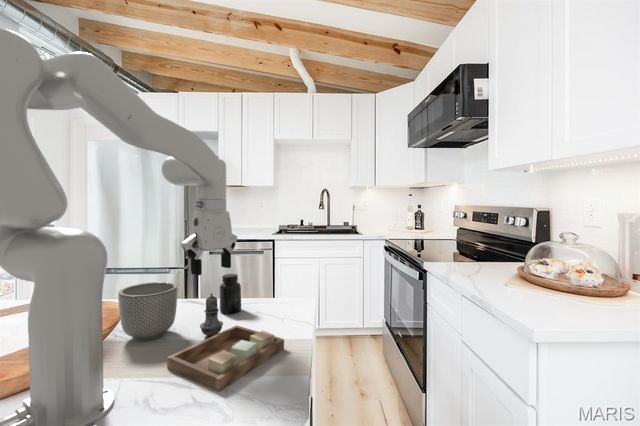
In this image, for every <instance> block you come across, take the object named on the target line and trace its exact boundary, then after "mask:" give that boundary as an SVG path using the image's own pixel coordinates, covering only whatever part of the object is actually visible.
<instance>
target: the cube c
mask: <svg viewBox="0 0 640 426" xmlns="http://www.w3.org/2000/svg"><path fill="white" fill-rule="evenodd" d="M274 336H275V334H273V333H271V332H268V331H265V330H261V331H258V333H256V334H253V335H251V336H250V342H254V343H257V352H259V351H260V350H262V349H264V348H265V347H267V346H269V345H270V344H272V343H274Z"/></svg>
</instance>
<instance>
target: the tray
mask: <svg viewBox="0 0 640 426" xmlns="http://www.w3.org/2000/svg"><path fill="white" fill-rule="evenodd" d="M258 332H259V331H256V330H254V329H250V328H248V327H244V326H239V325H238V324H237V325H234V326H232V327H230V328H228V329H226V330H223V331H220V332H219V333H218V334H216V335H214V336H212V337H208V338H206V339H203V340H202V341H200V342H197V343H195V344H193V345H189V346H188V347H186V348H184V349H181V350H180V351H177V352H175V353H173V354H170V355H168V356H167V357H166V368H167V369H168V370H170V371H173V372H174V373H176V374H178V375H181V376H184V378H188V379H189V380H192V381H194V382H196V383H199V384H201V385H203V386H205V387H207V388H210V389H212V390H214V391H216V392H219V393H220V392H221V391H223V390H225V389H226V388H228V387H230V386H231V385H232V384H233V383H235V382H236V381H238V380H240V379H241V378H243V377H244V376H246V375H247V374H249V373H250V372H251V371H253V370H255V369H256V368H257V367H259V366H261V365H262V364H264V363H266V362H267V361H269V360H270V359H271V358H273V357H274V356H276V355H278V354H279V353H280V352H282V351H283V350H285V339H284V338H282V337H279V336H275V335H274V343H272V344H270V345H269V346H267V347H265V348H264V349H262V350H260V351H259V352H257V353H256V354H254V355H252V356H251V357H249V358H247V359H246V360H244V361H242V362H241V363H239V364H237V365H236V366H234V367H232V368H231V369H229V370H227V371H226V372H224V373H222V374H221V375H218V374H216V373H213V372H211V371H208V358H210V357H212V356H214V355H216V354H218V353H220V352H222V351H226V352H229V353H231V347H232V346H234V345H235V344H237V343H238V342H240V341H241V340H243V341H249V342H250V336H251V335H253V334H256V333H258Z"/></svg>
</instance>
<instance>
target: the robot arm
mask: <svg viewBox="0 0 640 426" xmlns="http://www.w3.org/2000/svg"><path fill="white" fill-rule="evenodd" d="M32 43H33V42H30V40H29V39H27V38H25V37H24V36H23V35H21V34H19V33H18V32H15V31H12V30H10V29H7V28H2V27H1V28H0V268H1V269H3V271H5V272H6V273H7V274H8V275H10V276H12V277H13V278H16V279H19V280H22V281H26V282H32V283H34V287H33V292H32V295H31V298H30V301H29V302H30V303H29V306H28V307H29V308H28V312H27V313H28V316H27V333H28V361H29V362H28V363H29V365H28V366H29V397H28V398H25V399H23V400H22V407H20V408H17V409H15V411H14V413H12V414H11V413H10V414H8V415H6V416H3V417H1V418H0V426H94V425H96V422H98V421H99V420H101V419H102V418H103V417H105V415H107V413H109V412H110V411H111V409H112V407H113V406H114V404H115V395H114V392H113V391H112V390H111V389H109V388H105V386H104V337H103V335H104V334H103V333H104V331H103V329H104V328H103V292H104V291H103V290H104V283H105V277H106V272H107V268H108V252H107V251H108V250H107V247H106V245H105V244H104V242H103V241H102V240H101V239H100V238H99V237H97V236H96V235H95V234H93V233H92V232H89V231H87V230H83V229H79V228H72V227H71V228H70V227H56V226H55V225H54V223H56V222H58V221H60V220H61V219H62V218H63V217H64V215H65V214H66V212H67V209H68V197H67V195H66V192H65V190H64V188H63V186H62V185H61V183H60V181H59V179H58V178H57V176H56V175H55V173H54V171H53V170H52V168H51V165H50V164H49V162H48V161H47V159H46V157H45V156H44V154H43V152H42V151H41V149H40V147H39V145H38V143H37V142H36V140H35V138H34V136H33V133H32V131H31V128H30V125H29V121H28V110H39V111H69V110H74V109H82V110H83V111H84V112H86V113H87V114H88V115H90V116H91V117H92V118H93V119H94V120H96V121H98V123H100V124H101V125H102V126H103V127H105V128H106V130H107V129H108V130H109V131H110V132H111V133H112V134H114V135H115V136H116V137H117V138H118V139H120V140H121V141H123V143H125V144H127V145H129V146H132V147H135V148H139V149H142V150H146V151H150V152H155V153H158V154H162V155H164V156H168V157H167V158H166V159H165V160H164V161H163V163H162V166H161V173H162V176H163V178H164V179H165V180H166V181H167V182H169V183H170V184H172V185H174V186H180V187H181V186H182V187H183V186H184V187H187V186H189V187H191V186H195V198H196V200H195V201H193V203H192V206H193V207H194V208H195V211H194V212H193V216H192V224H191V235H190V236H189V237H188V238H186V239H185V240H184V241H183V240H182V242H181V243H180V246H181V248H182V250H183V251H184V254H185V255H186V256H187V257H188V259H190V273H191V275H194V276H195V275H196V276H201V275H202V273H203V272H202V271H203V270H202V267H203V265H202V264H203V263H202V259H201V256H202V255H203V253H204V252H211V251H216V250H217V251H218V250H221V251H222V252H221V254H220V264H221V266H220V267H221V268H226V269H231V267H232V253H233V252H234V248H235V247H236V243H237V241H238V236H237V235H236V234H234V233H233V230H232V221H231V216H230V212H229V211H228V210H227V165H226V164H227V163H226V162H225V161H224V160H223V159H220V158H219V157H218V155H217V154H216V153H215V151H213V149H212V148H211V147H210V146H209V145H208V144H207V143H206V142H205V140H203V139H202V138H201V137H199V136H198V135H197V134H196V133H194V132H192V131H190V130H189V129H187V128H185V127H184V126H182V125H180V124H177V122H174V121H172V120H171V119H168V118H166V117H165V116H162V115H160V114H158V113H156V111H154V110H153V109H152V108H151V107H150V106H149V105H148V104H147V103H146V102H145V101H144V100H143V99H142V98H141V97H140V96H139V95H138V94H137V93H136V92H134V90H132V89H131V87H130V86H129V85H128V84H127V83H126V82H124V81H123V79H122V78H120V77H119V75H118V74H117V73H115V72H114V70H112V69H111V67H109V66H108V65H107V64H106V63H105V61H103V60H102V59H100V58H99V57H98V56H95V55H93V54H91V53H88V52H83V51H74V52H69V53H64V54H60V55H58V56H55V57H51V58H48V59H42V56H41V54H40V52H39V51H38V49H37V48H36V47H35V46H34V44H32Z"/></svg>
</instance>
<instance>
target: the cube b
mask: <svg viewBox="0 0 640 426" xmlns="http://www.w3.org/2000/svg"><path fill="white" fill-rule="evenodd" d="M231 353H232V354H235V355H237V364H239V363H241V362H242V361H244V360H246V359H247V358H249V357H251V356H252V355H254V354H256V353H257V343H254V342H249V341H243V340H241V341H240V342H238V343H237V344H235V345H234V346H232V347H231Z"/></svg>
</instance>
